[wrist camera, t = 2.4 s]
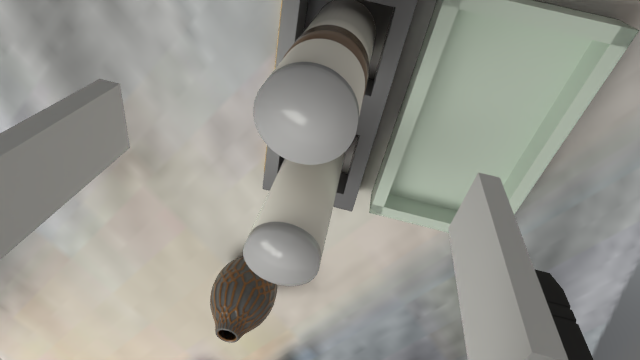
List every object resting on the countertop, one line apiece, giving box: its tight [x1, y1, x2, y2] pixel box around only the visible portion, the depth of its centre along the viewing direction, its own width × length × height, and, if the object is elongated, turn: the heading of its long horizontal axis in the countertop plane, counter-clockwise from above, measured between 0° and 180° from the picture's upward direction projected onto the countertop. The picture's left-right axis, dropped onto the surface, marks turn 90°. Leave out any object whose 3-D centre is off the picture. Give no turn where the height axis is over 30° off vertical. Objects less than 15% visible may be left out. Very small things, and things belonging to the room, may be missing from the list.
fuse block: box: [263, 0, 418, 211], centre depth 28 cm, size 18×9×3 cm, turn 170°
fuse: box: [243, 151, 346, 286], centre depth 26 cm, size 4×4×14 cm
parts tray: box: [369, 0, 639, 233], centre depth 28 cm, size 18×11×3 cm, turn 170°
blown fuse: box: [254, 0, 376, 165], centre depth 21 cm, size 4×4×14 cm
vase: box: [210, 257, 277, 342], centre depth 40 cm, size 7×7×9 cm
